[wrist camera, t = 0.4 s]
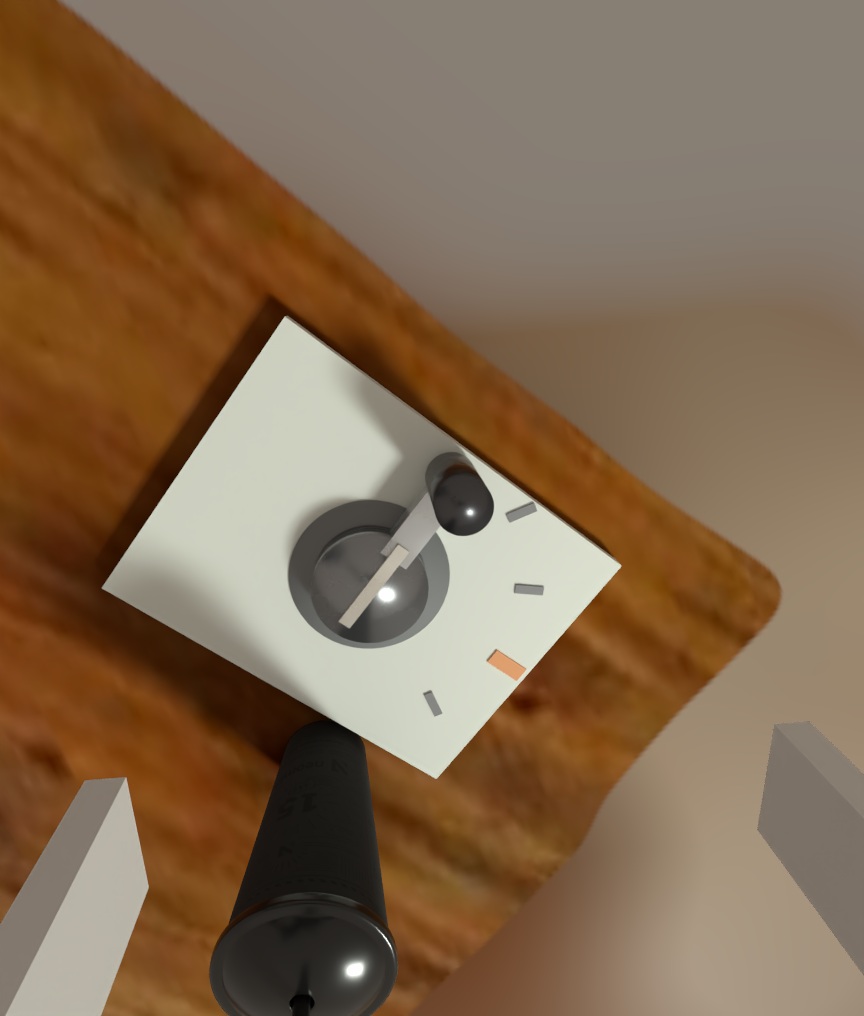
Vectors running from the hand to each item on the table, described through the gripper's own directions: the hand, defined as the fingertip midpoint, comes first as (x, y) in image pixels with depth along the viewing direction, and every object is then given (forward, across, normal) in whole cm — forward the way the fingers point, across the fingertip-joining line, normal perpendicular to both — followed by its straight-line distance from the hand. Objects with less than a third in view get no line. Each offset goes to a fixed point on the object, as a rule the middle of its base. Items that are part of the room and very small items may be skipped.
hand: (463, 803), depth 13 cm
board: (+23, -2, -4) cm, 23 cm away
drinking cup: (+23, -5, -16) cm, 29 cm away
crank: (+21, 0, -2) cm, 22 cm away
